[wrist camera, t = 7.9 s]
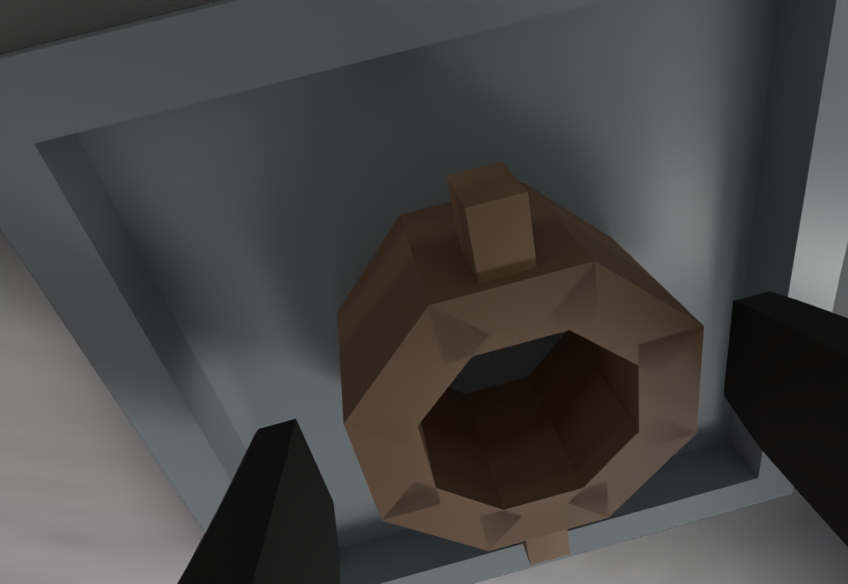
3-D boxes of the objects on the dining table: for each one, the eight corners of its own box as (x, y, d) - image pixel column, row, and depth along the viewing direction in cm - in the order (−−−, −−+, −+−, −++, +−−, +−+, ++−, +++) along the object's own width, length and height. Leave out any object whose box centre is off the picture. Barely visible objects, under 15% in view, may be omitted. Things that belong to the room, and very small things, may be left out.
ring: (608, 97, 9) (716, 150, 7) (619, 421, 13) (689, 530, 11) (290, 178, 9) (279, 263, 7) (396, 482, 13) (416, 607, 11)
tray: (745, 440, 16) (792, 494, 14) (280, 569, 15) (275, 639, 14) (828, -149, 9) (936, -172, 7) (-21, 59, 8) (-98, 82, 7)
